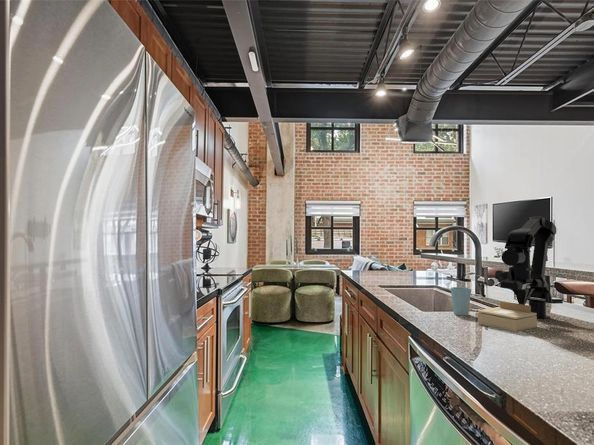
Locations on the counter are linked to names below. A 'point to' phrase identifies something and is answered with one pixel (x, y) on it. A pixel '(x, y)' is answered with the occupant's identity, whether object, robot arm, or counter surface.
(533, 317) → the box
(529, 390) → the counter surface
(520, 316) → the lid
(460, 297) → the cup
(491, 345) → the counter surface
